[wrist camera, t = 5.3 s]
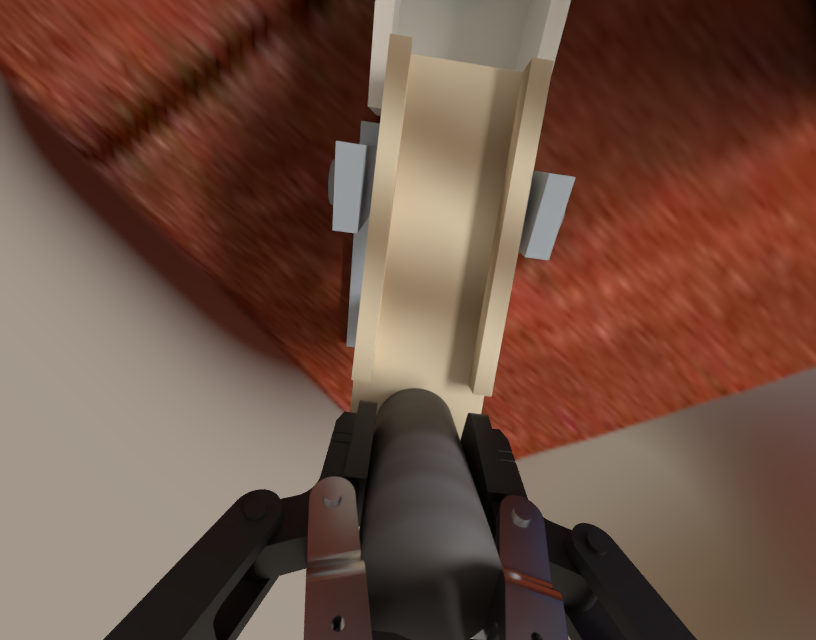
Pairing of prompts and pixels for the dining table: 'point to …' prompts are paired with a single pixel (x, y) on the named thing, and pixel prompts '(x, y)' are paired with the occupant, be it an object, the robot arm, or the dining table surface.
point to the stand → (354, 198)
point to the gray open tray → (467, 33)
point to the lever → (438, 326)
